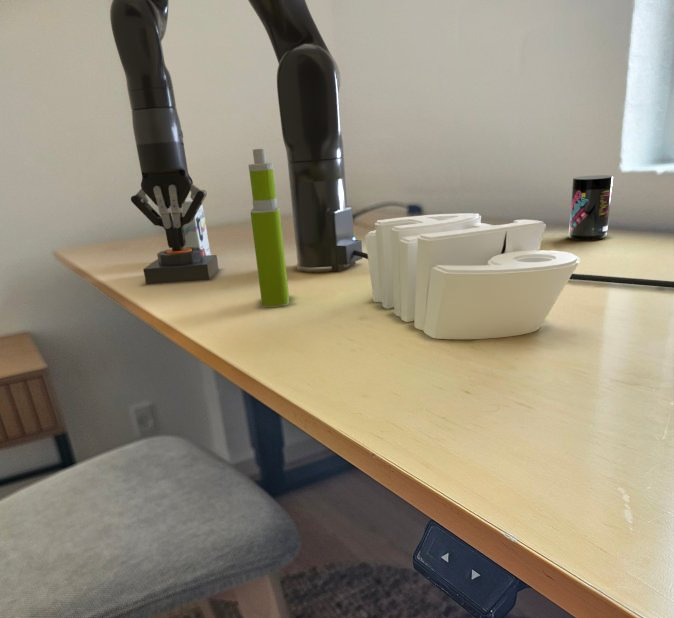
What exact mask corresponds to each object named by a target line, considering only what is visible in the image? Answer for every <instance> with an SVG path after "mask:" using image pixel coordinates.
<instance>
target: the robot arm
mask: <svg viewBox="0 0 674 618" xmlns="http://www.w3.org/2000/svg"><path fill="white" fill-rule="evenodd" d="M247 1H248V3H249V4H250V6H251V7H252V9H253V11H254V12H255V14H256V16H257V17H258V18H259V21H260V22H261V24H262V26H263V27H264V30H265V32H266V34H267V36H268V39H269V41H270V44H271V46H272V49H273V51H274V54H275V56H276V60H277V63H278V66H277V71H276V91H277V92H276V93H277V101H278V108H279V117H280V125H281V134H282V135H281V136H282V140H283V144H284V148H285V152H286V159H287V161H286V162H287V169H288V179H289V190H290V198H291V199H290V200H291V201H290V202H291V210H292V211H291V213H292V219H293V231H294V241H295V242H294V243H295V251H296V252H295V253H296V261H297V263H296V266H297V270H298V271H300V272H305V273H325V272H339V271H342V270H344V269H347V268H349V267H351V266H354V265H356V262H357V261H360V260H363V259H366V260H368V253H367V252H363V241H362V239H356V237H355V234H354V217H353V215H354V214H353V208H352V207H351V206H348V203H347V201H348V200H347V199H348V198H347V186H346V184H347V183H346V169H345V167H346V166H345V153H344V140H343V135H342V129H341V119H340V105H339V104H340V103H339V92H340V88H341V72H340V69H339V66H338V64H337V62H336V60H335V58H334V57H333V55H332V53H331V51H330V49H329V47H328V46H327V44H326V42H325V40H324V38H323V37H322V35H321V33H320V30H319V29H318V27H317V25H316V23H315V20H314V19H313V16H312V14H311V11H310V9H309V7H308V4H307V1H306V0H247ZM109 17H110V18H109V20H110V27H111V31H112V36H113V39H114V43H115V47H116V50H117V54H118V57H119V60H120V63H121V66H122V68H123V69H122V70H123V72H124V75H125V81H126V88H127V95H128V100H129V105H130V110H131V117H132V118H131V122H132V130H133V134H134V140H135V147H136V151H137V156H138V161H139V168H140V173H141V182H140V189H139V191H137V193H136V194H135V195H132V196H131V197H130V202H131V203H132V204H133V205H134V206H135V207H136V208H137V209H138V210H139V211H140V212H141V213H142V214H143V215H144V216H145V217H146V218H147V219H148V221H150V222H151V223H152V224H153V226H156V227H157V226H158V227H162V228H163V229H164V231H165V236H166V237H165V238H166V242H167V246H168V248H169V249H172V250H173V251H181V250H183V247H184V246H185V245H186V240H185V234H184V225H185V224H188V223H190V222H191V221H193V219H194V217H195V215H196V213H197V212H198V210H199V208H200V206H201V204H202V205H203V203H204V200H205V199H206V197H207V191H206V190H205V189H201V188H199V187H198V186H196V185H195V184H194V181H193V179H192V178H191V176H190V174H189V169H188V163H187V156H186V151H185V143H184V134H183V130H182V125H181V120H180V117H179V114H178V108H177V103H176V102H177V101H176V96H175V90H174V84H173V80H172V76H171V73H170V71H169V69H168V67H167V65H166V62H165V56H164V49H163V45H162V44H163V43H162V41H163V39H164V38H165V35H166V32H167V26H168V20H169V19H168V17H169V0H112V1H111V4H110V10H109ZM189 194H190V197H191V199H192V200H193V201H192V203H191V205H190V207H189V209H188V210H187V212H186V214H185V216H184V217H183V203H184V202H185V200H186V198H188V196H189ZM149 199H150V200H151V202H152V203H154V205H156V206H157V207H158V212H157V210H156V209H154V208H153V206H152V205H151V204H149ZM172 215H173V217H172ZM569 280H572V281H586V282H597V283H609V284H610V283H611V284H623V285H634V286H645V287H646V286H647V287H658V288H659V287H660V288H670V289H671V288H672V289H674V280H673V281H672V280H661V279H649V278H648V279H646V278H635V277H624V276H623V277H622V276H621V277H620V276H609V275H597V274H584V273H583V274H582V273H572V275H571V277H570V278H569Z"/></svg>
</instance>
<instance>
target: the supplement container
mask: <svg viewBox="0 0 674 618" xmlns="http://www.w3.org/2000/svg"><path fill="white" fill-rule="evenodd" d="M613 181H614V175H606V174H605V175H604V174H602V175H601V174H600V175H599V174H597V175H582V176H575V177H573V178H572V187H571V189H572V190H571V202H570V213H569V214H570V215H569V227H568V237H569V238H570V239H571V240H574V241H582V242H583V241H585V242H587V241H588V242H589V241H599V240H603V239H605V238H606V237H607V234H608V230H609V229H608V228H609V219H610V209H611V202H612V201H611V200H612V190H613V183H614V182H613Z"/></svg>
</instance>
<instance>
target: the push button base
mask: <svg viewBox="0 0 674 618" xmlns="http://www.w3.org/2000/svg"><path fill="white" fill-rule="evenodd" d="M186 248H191V249H192V251H190V252H185V253H178V254H166V251H168V250H172V248H169V249H165V250H161V251H159V252H158V253H156V256H157V259H155V260H154V261H152V262H151V263H149V265H147V266H145V267H144V268H143V275H144V280H145V285H161V284H175V283H187V282H201V281H202V282H203V281H210V280H211V279H212V278H213V277H214V276H215V274H217V272H218V271H219V270H220V268H219V262H218V255H217V254H211V255H208V256H202V252H201V249H200V248H197V247H186Z"/></svg>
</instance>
